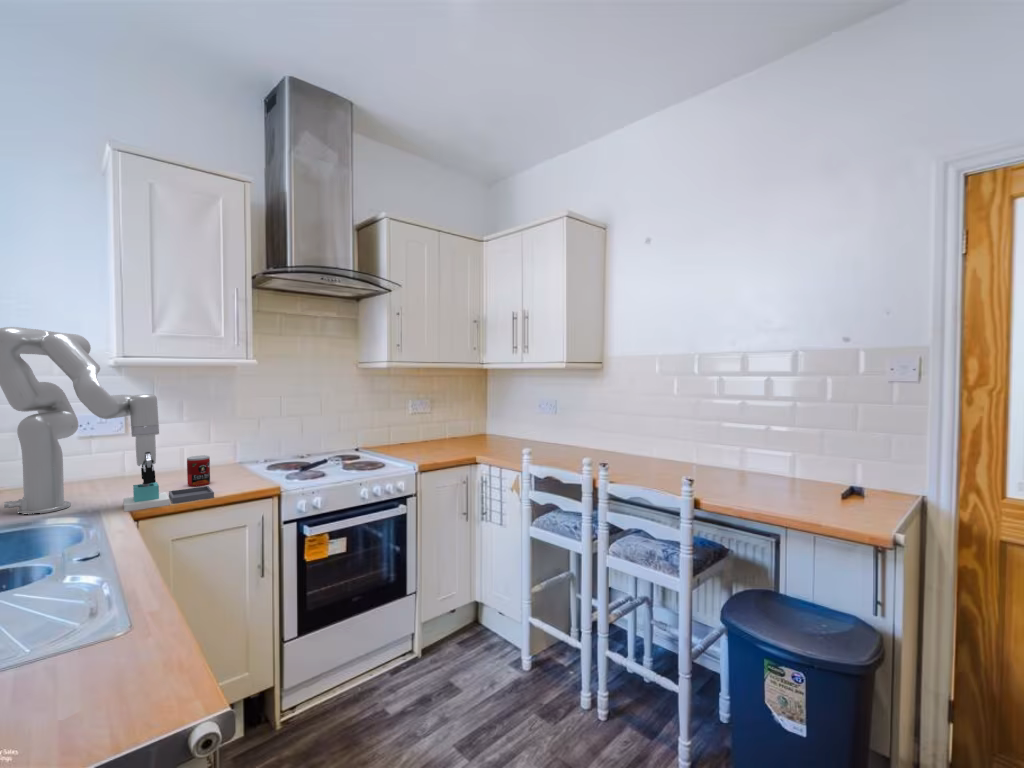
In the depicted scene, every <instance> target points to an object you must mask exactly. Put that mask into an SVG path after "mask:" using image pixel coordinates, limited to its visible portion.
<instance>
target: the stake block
mask: <svg viewBox="0 0 1024 768" xmlns="http://www.w3.org/2000/svg"><path fill="white" fill-rule="evenodd" d="M142 484H143V487H146V486H149V484H144V482H142ZM122 501H123V511H124V512H132V511H137V510H144V509H151V508H157V507H163V506H170V504H171V503H170V502H171V500H170V498H169V494H167V492H165V491H164V492H159V499H154V500H147V501H140V502H134V496H128V497H127V496H126V497H122Z"/></svg>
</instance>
